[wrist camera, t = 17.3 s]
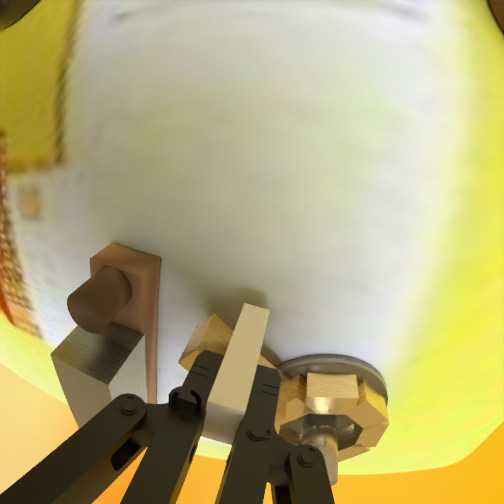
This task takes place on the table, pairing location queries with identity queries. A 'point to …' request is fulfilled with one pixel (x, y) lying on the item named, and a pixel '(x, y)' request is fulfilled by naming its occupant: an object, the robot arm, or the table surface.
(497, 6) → the mug
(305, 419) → the nut station
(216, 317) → the golden ring with handle
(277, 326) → the table surface
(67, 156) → the table surface
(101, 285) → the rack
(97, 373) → the bar
